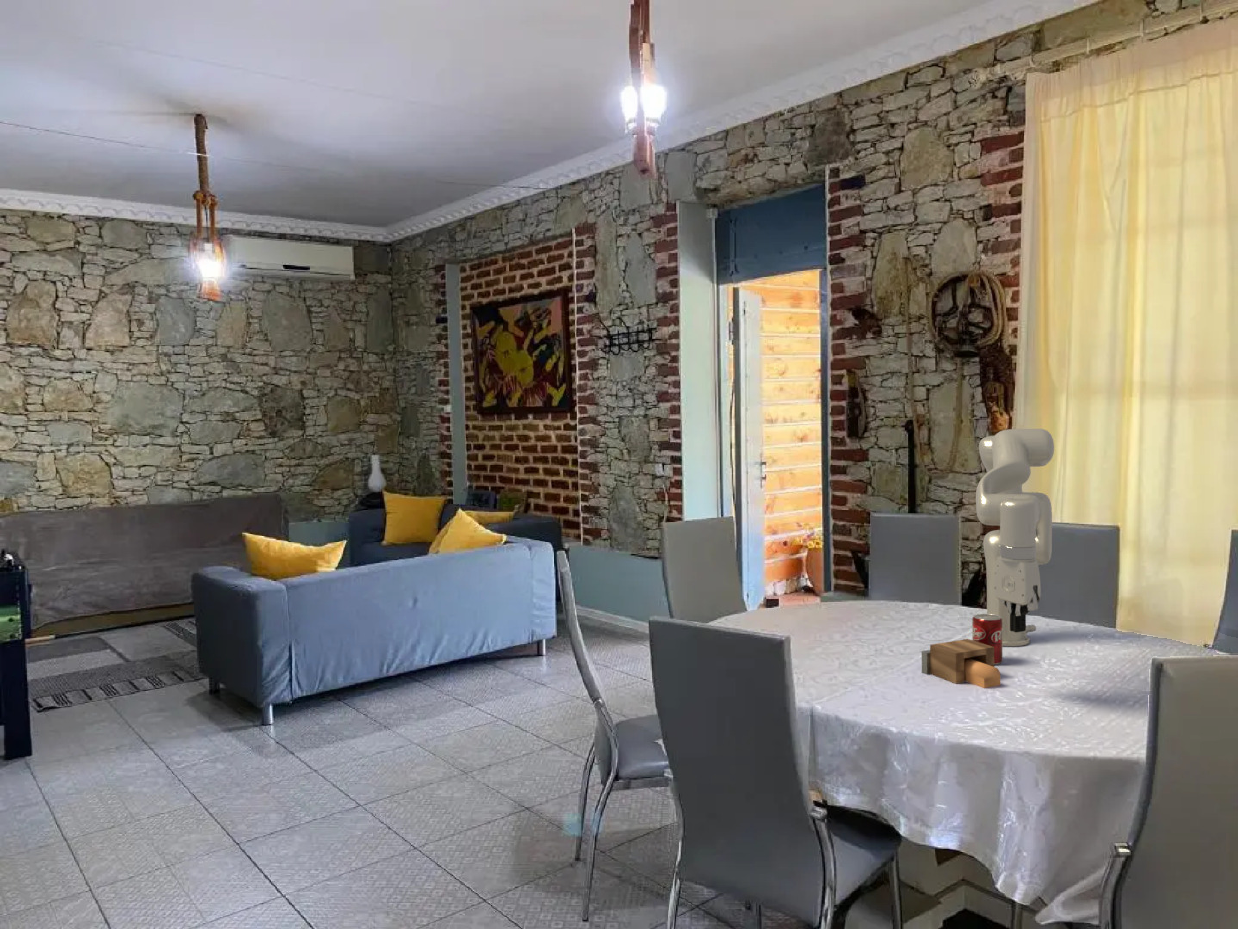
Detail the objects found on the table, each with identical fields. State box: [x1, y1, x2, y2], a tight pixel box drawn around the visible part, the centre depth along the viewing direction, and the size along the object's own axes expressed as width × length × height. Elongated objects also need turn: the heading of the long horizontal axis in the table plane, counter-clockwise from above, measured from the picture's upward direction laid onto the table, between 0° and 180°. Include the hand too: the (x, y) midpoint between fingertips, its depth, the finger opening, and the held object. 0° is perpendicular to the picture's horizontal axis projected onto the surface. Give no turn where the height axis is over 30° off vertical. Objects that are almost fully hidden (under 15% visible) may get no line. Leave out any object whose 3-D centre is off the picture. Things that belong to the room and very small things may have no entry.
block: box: [929, 638, 995, 685], centre depth 228 cm, size 12×9×8 cm
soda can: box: [971, 613, 1004, 666], centre depth 238 cm, size 7×7×12 cm
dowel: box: [964, 658, 1001, 689], centre depth 224 cm, size 12×5×5 cm, turn 21°
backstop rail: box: [921, 649, 931, 676], centre depth 233 cm, size 14×2×6 cm, turn 112°
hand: (1017, 630), depth 211 cm, fingers closed
